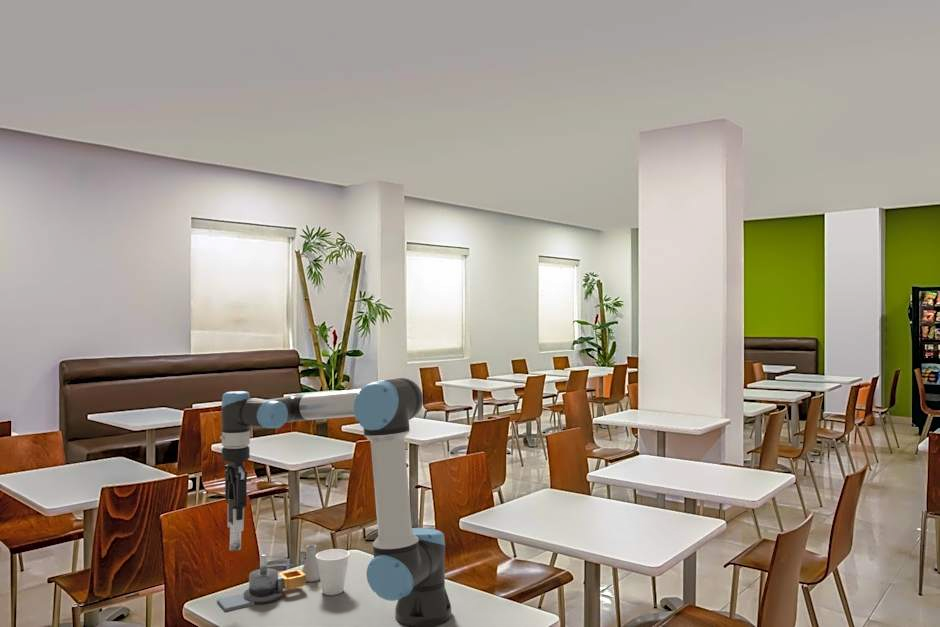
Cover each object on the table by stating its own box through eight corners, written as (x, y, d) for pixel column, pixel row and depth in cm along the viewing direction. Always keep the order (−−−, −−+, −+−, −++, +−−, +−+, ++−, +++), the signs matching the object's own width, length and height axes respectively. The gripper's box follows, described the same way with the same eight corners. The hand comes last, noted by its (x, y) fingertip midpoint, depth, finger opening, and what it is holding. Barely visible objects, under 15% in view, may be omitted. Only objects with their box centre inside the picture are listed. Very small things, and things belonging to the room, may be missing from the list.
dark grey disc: (288, 598, 203) (288, 593, 203) (250, 607, 196) (250, 602, 196) (275, 586, 212) (275, 581, 212) (238, 595, 205) (238, 589, 205)
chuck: (253, 598, 198) (253, 561, 198) (245, 589, 205) (245, 554, 205) (307, 586, 207) (307, 551, 207) (297, 578, 214) (297, 544, 214)
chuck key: (235, 546, 202) (236, 497, 203) (246, 548, 200) (247, 498, 201) (223, 550, 198) (224, 499, 199) (234, 552, 196) (235, 500, 197)
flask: (294, 581, 216) (294, 548, 216) (307, 573, 223) (306, 541, 223) (315, 583, 214) (315, 551, 214) (327, 575, 221) (327, 543, 221)
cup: (353, 586, 212) (353, 549, 212) (344, 598, 202) (344, 560, 202) (321, 584, 213) (321, 548, 213) (311, 597, 203) (310, 559, 203)
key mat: (254, 604, 198) (254, 601, 198) (225, 611, 194) (225, 608, 194) (245, 595, 205) (245, 592, 205) (217, 601, 200) (217, 599, 200)
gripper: (213, 443, 205) (213, 523, 205) (231, 452, 190) (231, 538, 190) (239, 440, 209) (239, 519, 209) (259, 449, 195) (258, 534, 194)
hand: (235, 528), depth 200 cm, fingers closed on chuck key, 5 cm apart
